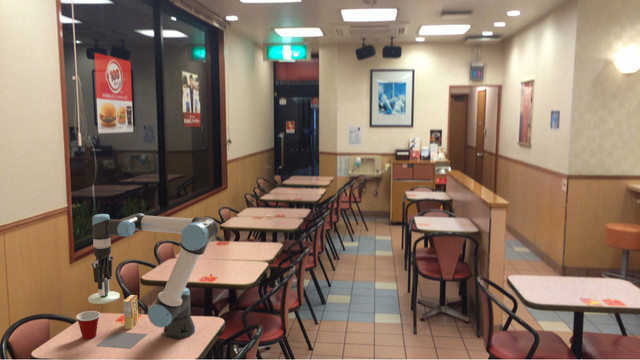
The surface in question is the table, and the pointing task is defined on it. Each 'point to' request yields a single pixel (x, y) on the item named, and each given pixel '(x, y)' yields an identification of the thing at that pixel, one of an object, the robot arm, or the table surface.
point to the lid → (107, 297)
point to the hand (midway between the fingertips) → (104, 293)
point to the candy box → (130, 311)
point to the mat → (122, 340)
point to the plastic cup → (88, 323)
